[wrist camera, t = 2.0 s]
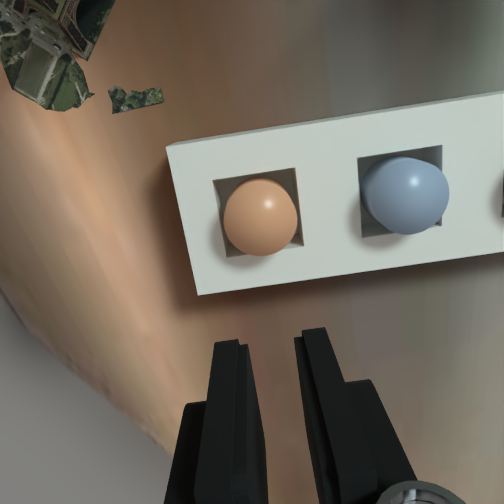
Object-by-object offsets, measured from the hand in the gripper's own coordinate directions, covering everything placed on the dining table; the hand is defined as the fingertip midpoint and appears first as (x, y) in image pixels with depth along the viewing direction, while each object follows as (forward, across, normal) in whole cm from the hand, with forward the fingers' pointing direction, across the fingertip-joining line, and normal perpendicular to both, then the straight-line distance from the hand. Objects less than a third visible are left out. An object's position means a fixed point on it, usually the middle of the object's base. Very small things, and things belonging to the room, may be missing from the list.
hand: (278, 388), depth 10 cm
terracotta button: (+19, 0, 0) cm, 19 cm away
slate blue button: (+19, -9, 0) cm, 21 cm away
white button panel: (+21, -9, 0) cm, 23 cm away
